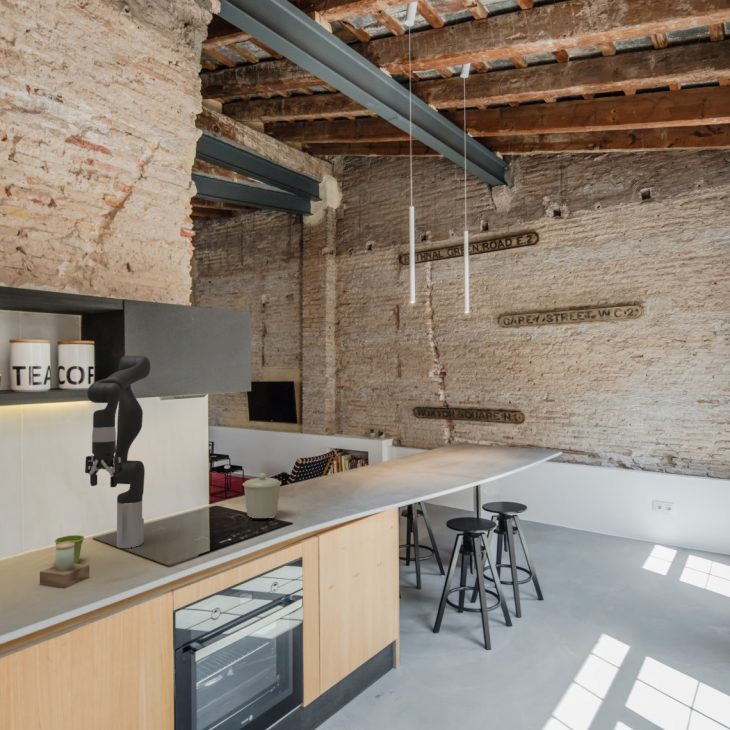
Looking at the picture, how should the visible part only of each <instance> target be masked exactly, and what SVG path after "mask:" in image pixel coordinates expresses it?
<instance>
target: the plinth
mask: <svg viewBox="0 0 730 730" xmlns="http://www.w3.org/2000/svg"><path fill="white" fill-rule="evenodd" d="M88 578H90V564H84V563H74V568H73V569H71V570H67V571H56V565H54V566H52V567H48V568H46V569H44V570H42V571H39V585H41V586H48V587H52V588H53V587H54V588H61V589H65V588H68V587H70V586H72V585H75V584H77V583H79V582H81V581H83V580H86V579H88Z"/></svg>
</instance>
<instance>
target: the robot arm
mask: <svg viewBox="0 0 730 730" xmlns="http://www.w3.org/2000/svg"><path fill="white" fill-rule="evenodd" d="M150 361H151V360H150V359H149V357H147V356H144V355H124V356H122V357H121V358H120V360H119V363H118V371H115V372H113V373H112V374H110V375H109V376H108V377H106V378H104V379H100V380H97V381H94V382H93V383H92V384H91V385H89V387H88V389H87V394H86V395H87V398H88V400H89V401H90V402H91V403H95V404H106V406H105V408H103V409H98V410H95V411H94V412H93V414H92V415H93V416H92V431H91V433H92V435H91V454H93V455H87V456H86V457H85V466H84V467H85V468H84V473H85V474H88V476H89V477H90V479H89V482H90V486H91V487H94V486H95V487H97V485H98V472H99V471H100V470H105V471H106V472H108V473H109V475H110V480H109V481H110V482H109V485H110V488H116V487H117V485H129V489H128V490H127V491H124V492H121V493H120V494H117V497H116V547H117V548H119V549H130V548H131V547H132V548H136V546H137V547H140V546H141V545H142V544H143V543H145V539H144V538H145V519H144V517H143V495H144V489H145V486H144V485H145V476H146V475H145V474H146V473H145V465H144V463H143V462H142V461H140V460H128V455H129V451H130V449H131V447H132V445H133V442H134V441H135V439H136V438H137V436H138V435H139V434H140V433H141V430H142V427H143V419H144V418H143V415H144V413H143V409H142V406H141V405H140V402H139V401H138V400H137V398H136V396H135V394H134V391H133V390H132V385H133V384H134V383H136V382H138V381H141V380H143V379H145V378H147V377H148V376H149V375H150V372H151V362H150ZM116 414H117V423H116ZM116 424H117V427H116ZM116 430H117V432H116Z"/></svg>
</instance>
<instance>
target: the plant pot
mask: <svg viewBox="0 0 730 730" xmlns="http://www.w3.org/2000/svg"><path fill="white" fill-rule="evenodd" d="M84 540H85V536H84V535H81V534H80V535H79V534H73V535H65V536H62V537H58V538H56V539H55V540H54V543H55V546H56V545H57V544H59V543H63V542H74V543H75V546H74V563H77V564H79V561H80V557H81V550H82V545H83V541H84Z"/></svg>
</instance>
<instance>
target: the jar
mask: <svg viewBox="0 0 730 730" xmlns="http://www.w3.org/2000/svg"><path fill="white" fill-rule="evenodd" d="M74 546H75V543H74V542H63V543H59V544H57V545H56V544H55V566H56V571H67V570H71V569H73V568H74Z"/></svg>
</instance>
